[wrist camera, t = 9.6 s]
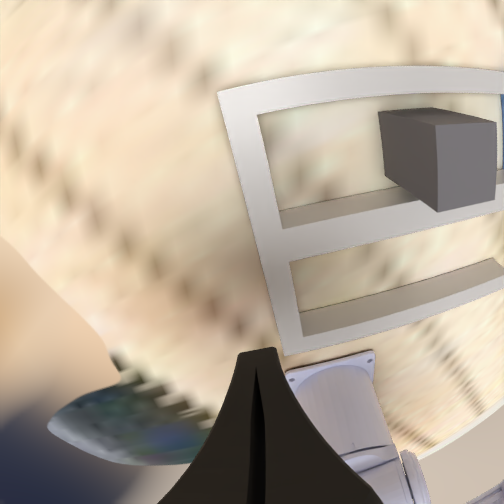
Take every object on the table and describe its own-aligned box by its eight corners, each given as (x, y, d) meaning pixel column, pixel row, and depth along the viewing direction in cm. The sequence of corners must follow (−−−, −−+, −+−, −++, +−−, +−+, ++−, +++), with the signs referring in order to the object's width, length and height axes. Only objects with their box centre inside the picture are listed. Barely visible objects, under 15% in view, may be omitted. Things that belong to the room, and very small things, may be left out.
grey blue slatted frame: (500, 267, 21) (525, 292, 18) (280, 332, 23) (287, 372, 20) (509, 73, 13) (547, 79, 10) (219, 92, 15) (214, 91, 11)
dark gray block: (436, 167, 17) (494, 199, 12) (385, 175, 17) (437, 213, 12) (432, 107, 15) (496, 122, 10) (377, 111, 16) (435, 125, 10)
